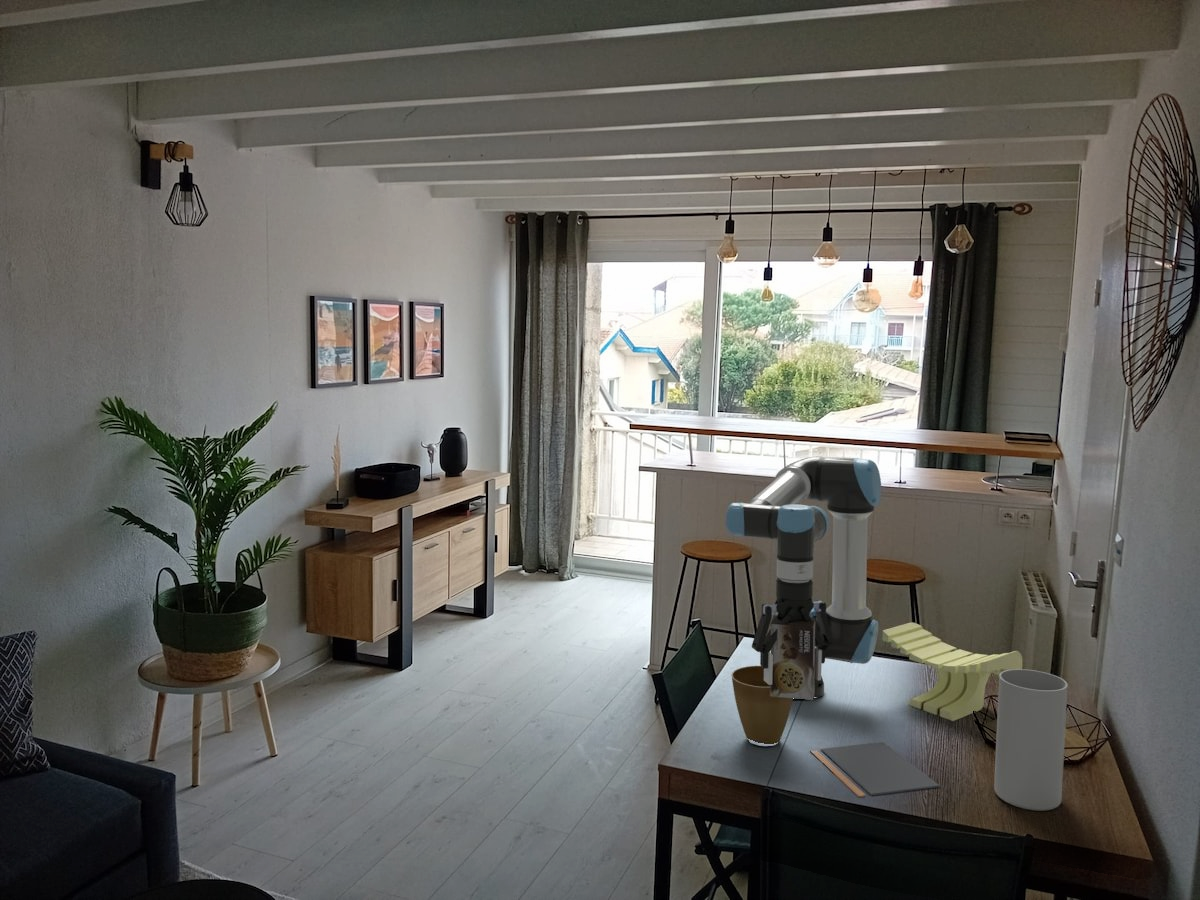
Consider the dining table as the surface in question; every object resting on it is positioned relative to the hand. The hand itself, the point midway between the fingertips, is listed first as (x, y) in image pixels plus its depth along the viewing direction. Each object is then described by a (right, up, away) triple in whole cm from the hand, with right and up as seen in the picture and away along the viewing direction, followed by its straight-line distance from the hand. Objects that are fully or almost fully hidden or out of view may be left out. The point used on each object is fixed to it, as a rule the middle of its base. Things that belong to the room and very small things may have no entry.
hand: (792, 680), depth 189 cm
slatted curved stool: (+50, -18, +42) cm, 68 cm away
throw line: (+11, -21, +5) cm, 24 cm away
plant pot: (-3, -20, +21) cm, 29 cm away
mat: (+20, -21, +7) cm, 30 cm away
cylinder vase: (+47, -23, -6) cm, 53 cm away
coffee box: (0, -3, 0) cm, 3 cm away
